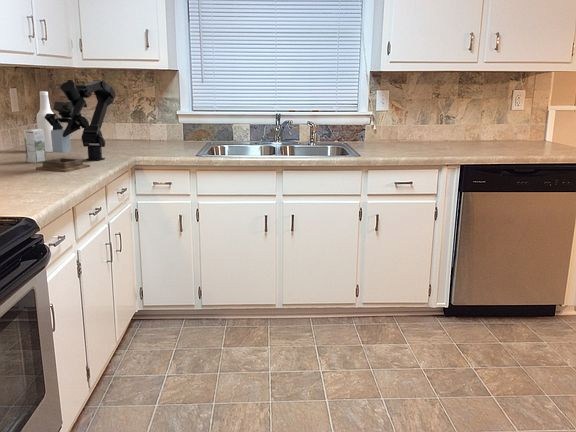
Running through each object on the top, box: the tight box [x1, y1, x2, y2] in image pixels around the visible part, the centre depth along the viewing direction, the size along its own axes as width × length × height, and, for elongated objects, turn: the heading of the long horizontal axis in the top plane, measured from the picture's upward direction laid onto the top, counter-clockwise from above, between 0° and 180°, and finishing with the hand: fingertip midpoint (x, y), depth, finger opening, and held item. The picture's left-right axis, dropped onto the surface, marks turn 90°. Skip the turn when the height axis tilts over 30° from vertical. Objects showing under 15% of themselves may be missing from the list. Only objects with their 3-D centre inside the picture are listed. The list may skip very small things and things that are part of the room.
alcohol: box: [36, 91, 55, 153], centre depth 260 cm, size 9×9×30 cm
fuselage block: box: [51, 129, 72, 154], centre depth 214 cm, size 5×5×9 cm
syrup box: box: [23, 128, 47, 164], centre depth 229 cm, size 6×6×14 cm
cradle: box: [35, 157, 91, 173], centre depth 216 cm, size 15×15×3 cm
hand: (58, 136), depth 212 cm, fingers closed on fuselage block, 5 cm apart
